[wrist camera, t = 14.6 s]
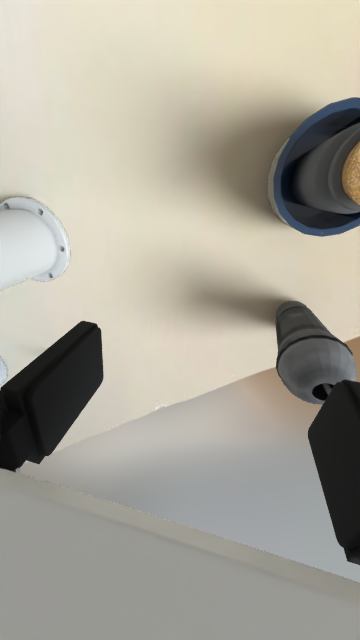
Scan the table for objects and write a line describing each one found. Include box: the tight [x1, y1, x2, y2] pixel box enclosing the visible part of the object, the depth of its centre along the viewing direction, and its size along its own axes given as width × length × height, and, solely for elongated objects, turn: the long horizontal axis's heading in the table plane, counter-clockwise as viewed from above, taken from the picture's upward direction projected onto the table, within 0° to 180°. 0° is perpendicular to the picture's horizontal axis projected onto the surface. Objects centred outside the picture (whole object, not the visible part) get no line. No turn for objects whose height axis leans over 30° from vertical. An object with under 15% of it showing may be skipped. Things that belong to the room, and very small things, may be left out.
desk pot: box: [267, 97, 360, 236], centre depth 24 cm, size 11×11×6 cm
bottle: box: [290, 123, 360, 214], centre depth 20 cm, size 6×6×15 cm
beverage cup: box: [276, 302, 356, 405], centre depth 26 cm, size 7×7×20 cm
